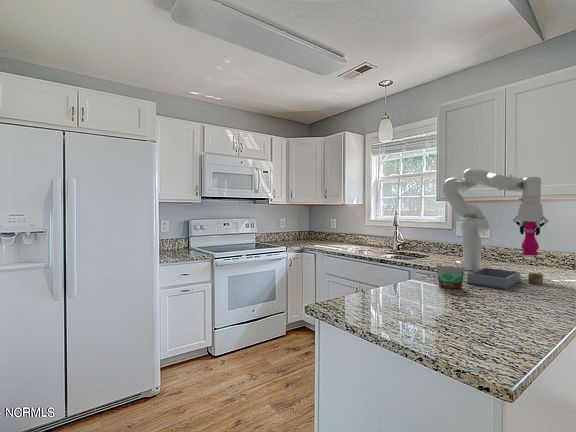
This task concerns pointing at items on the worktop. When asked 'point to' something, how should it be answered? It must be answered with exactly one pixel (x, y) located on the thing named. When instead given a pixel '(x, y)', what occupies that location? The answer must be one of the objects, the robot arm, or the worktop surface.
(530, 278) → the wooden block
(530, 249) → the pepper mill
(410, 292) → the worktop surface
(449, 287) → the food container
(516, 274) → the tray
